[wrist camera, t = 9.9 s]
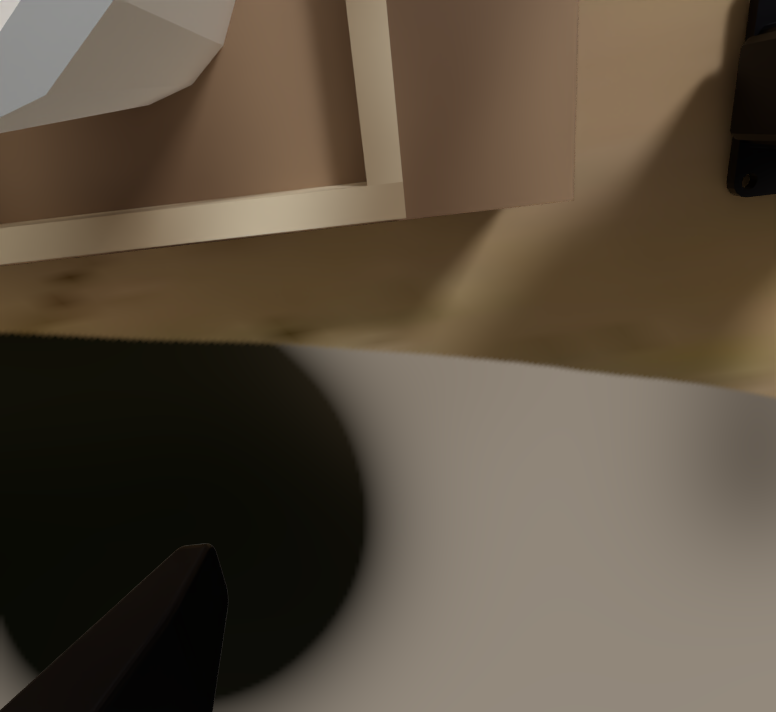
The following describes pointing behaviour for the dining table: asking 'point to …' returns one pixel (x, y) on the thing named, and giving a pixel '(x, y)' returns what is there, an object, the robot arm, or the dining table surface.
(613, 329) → the dining table surface
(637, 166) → the dining table surface
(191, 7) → the shot glass
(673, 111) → the dining table surface
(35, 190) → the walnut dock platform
